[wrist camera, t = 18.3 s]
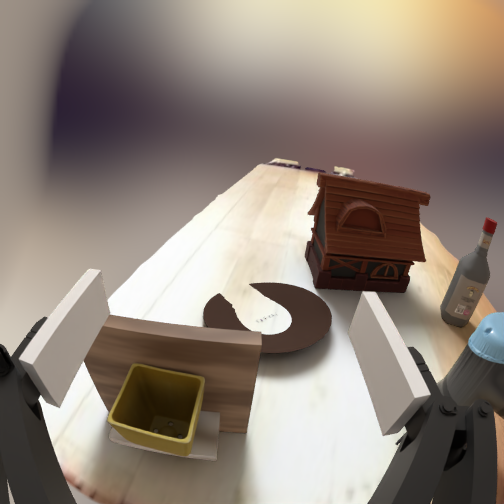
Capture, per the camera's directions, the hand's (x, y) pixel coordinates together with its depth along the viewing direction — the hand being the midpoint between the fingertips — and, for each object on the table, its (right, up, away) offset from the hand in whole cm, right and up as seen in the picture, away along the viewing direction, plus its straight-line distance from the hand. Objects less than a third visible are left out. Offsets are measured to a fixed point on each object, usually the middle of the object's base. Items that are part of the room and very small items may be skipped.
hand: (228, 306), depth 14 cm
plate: (+4, -12, +49) cm, 51 cm away
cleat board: (-11, -24, +22) cm, 34 cm away
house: (+33, -4, +71) cm, 78 cm away
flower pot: (-9, -21, +16) cm, 28 cm away
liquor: (+59, -16, +52) cm, 80 cm away
